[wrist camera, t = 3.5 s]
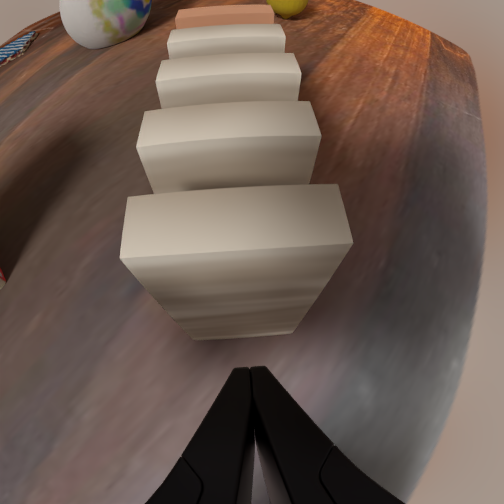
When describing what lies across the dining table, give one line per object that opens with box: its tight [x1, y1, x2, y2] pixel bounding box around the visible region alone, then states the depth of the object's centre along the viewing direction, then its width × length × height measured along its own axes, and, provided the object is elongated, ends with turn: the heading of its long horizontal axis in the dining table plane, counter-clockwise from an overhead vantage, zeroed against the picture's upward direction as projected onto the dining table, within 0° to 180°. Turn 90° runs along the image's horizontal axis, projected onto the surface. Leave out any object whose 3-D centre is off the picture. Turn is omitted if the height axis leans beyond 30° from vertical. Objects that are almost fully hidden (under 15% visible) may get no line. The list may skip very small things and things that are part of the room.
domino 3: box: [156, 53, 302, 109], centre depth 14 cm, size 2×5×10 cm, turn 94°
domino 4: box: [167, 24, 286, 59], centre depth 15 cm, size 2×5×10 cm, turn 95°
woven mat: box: [0, 31, 38, 67], centre depth 34 cm, size 10×11×2 cm
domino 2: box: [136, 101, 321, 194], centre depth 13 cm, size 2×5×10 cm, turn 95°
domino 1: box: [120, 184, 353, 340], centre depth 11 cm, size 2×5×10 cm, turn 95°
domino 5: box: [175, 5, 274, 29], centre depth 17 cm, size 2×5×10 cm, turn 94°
